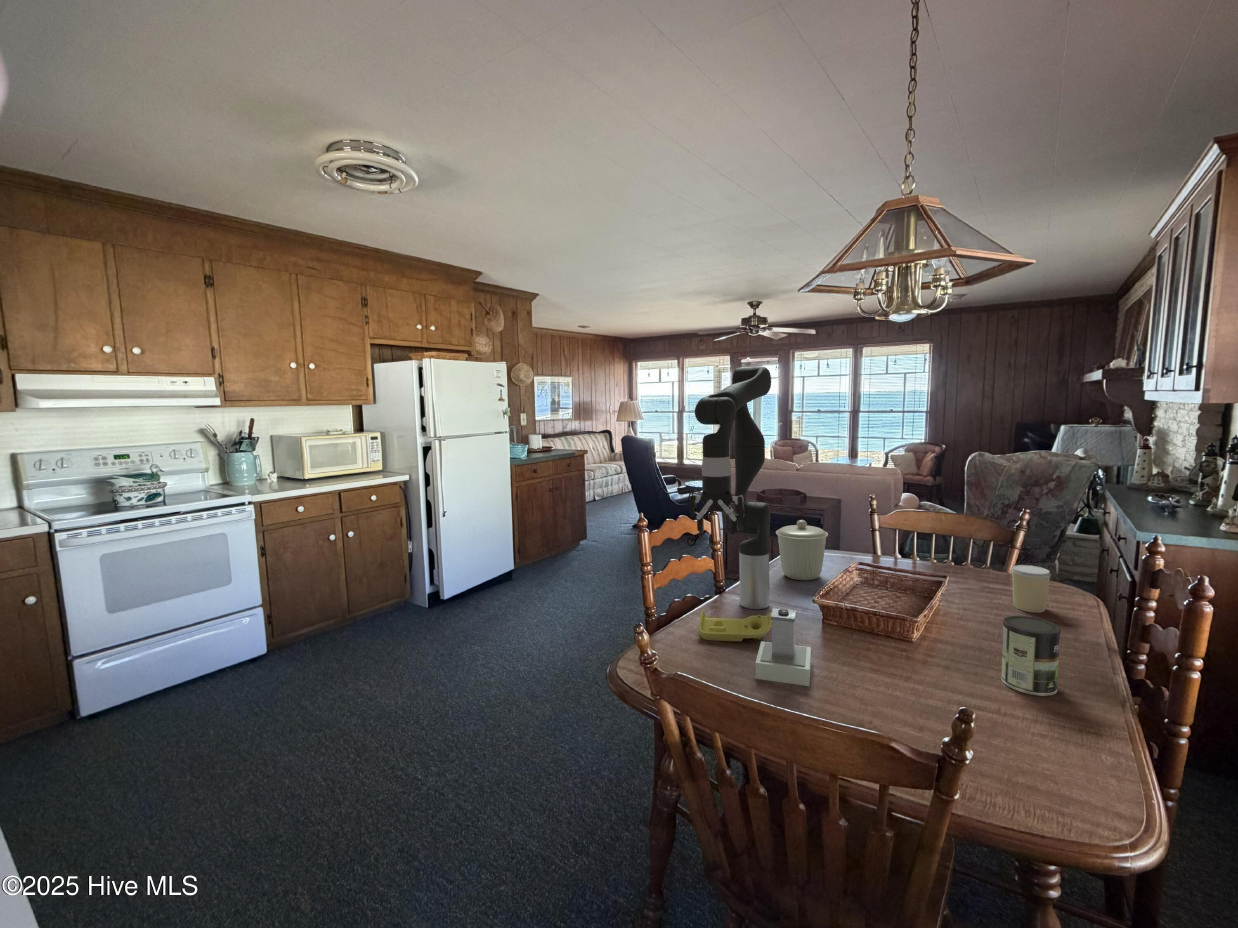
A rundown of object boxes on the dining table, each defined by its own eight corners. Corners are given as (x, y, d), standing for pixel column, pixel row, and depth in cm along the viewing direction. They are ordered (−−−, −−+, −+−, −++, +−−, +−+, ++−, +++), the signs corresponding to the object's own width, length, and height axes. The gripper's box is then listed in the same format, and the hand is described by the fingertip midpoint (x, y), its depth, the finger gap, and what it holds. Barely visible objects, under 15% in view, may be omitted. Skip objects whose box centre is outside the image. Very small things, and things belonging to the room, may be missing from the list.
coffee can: (1054, 679, 125) (1057, 619, 124) (1060, 701, 116) (1064, 637, 115) (999, 669, 131) (1001, 611, 129) (1001, 689, 122) (1004, 627, 120)
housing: (773, 647, 137) (772, 605, 135) (795, 649, 135) (795, 608, 133) (770, 656, 132) (770, 614, 130) (794, 659, 130) (794, 616, 128)
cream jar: (1046, 605, 168) (1048, 567, 167) (1050, 615, 160) (1052, 575, 159) (1009, 600, 173) (1011, 563, 172) (1011, 610, 165) (1012, 571, 164)
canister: (793, 566, 216) (793, 513, 213) (837, 576, 202) (837, 519, 199) (766, 576, 204) (765, 520, 202) (810, 587, 190) (810, 528, 188)
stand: (761, 656, 141) (761, 640, 141) (810, 662, 137) (810, 645, 136) (755, 678, 130) (755, 661, 130) (809, 686, 126) (809, 668, 125)
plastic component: (697, 632, 151) (702, 605, 159) (701, 650, 155) (706, 623, 163) (771, 635, 145) (772, 607, 153) (774, 654, 148) (775, 625, 156)
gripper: (745, 472, 147) (746, 531, 149) (693, 471, 152) (694, 529, 154) (741, 475, 140) (742, 538, 142) (686, 475, 145) (687, 535, 147)
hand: (717, 533), depth 148 cm, fingers open, 8 cm apart
